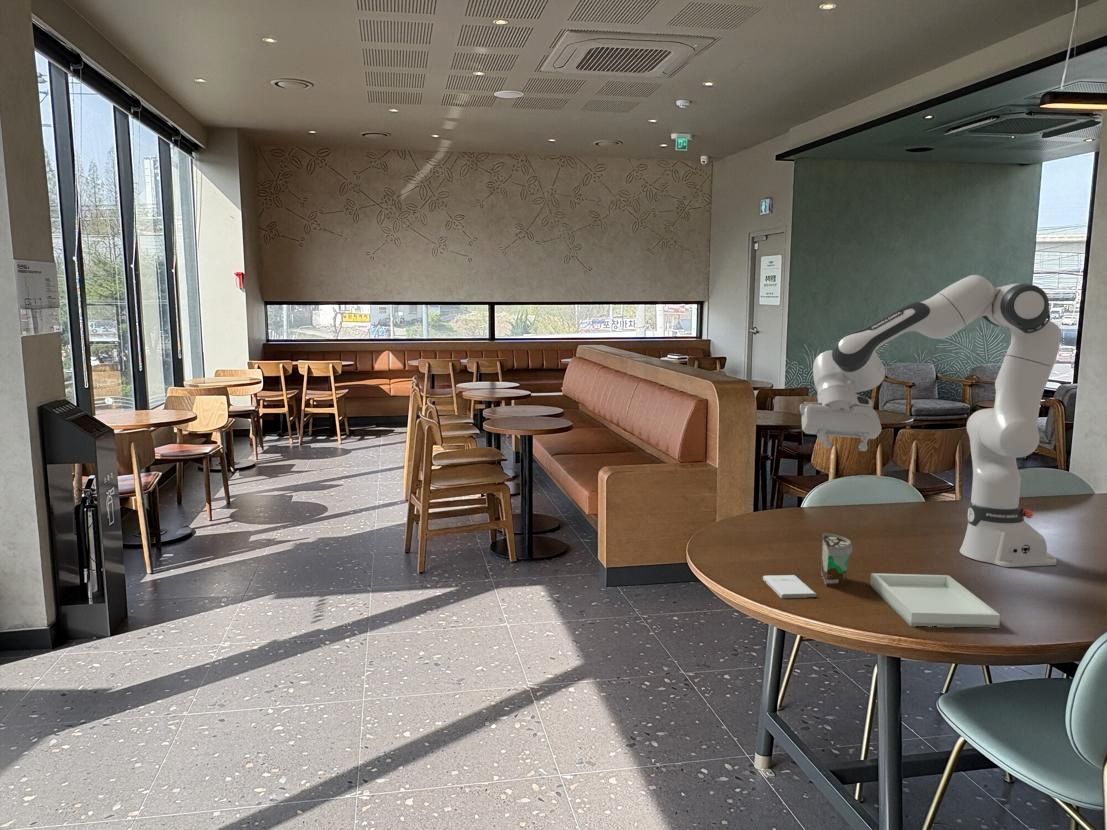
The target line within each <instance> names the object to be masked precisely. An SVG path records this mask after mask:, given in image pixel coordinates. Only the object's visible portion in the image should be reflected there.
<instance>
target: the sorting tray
mask: <svg viewBox="0 0 1107 830" xmlns="http://www.w3.org/2000/svg"><path fill="white" fill-rule="evenodd" d="M870 587H871V588H872V589H873V590H874V591H875V592H876V593H877V594H878V595H879V596H880V597H881V598H882V599H883V600H884V601H885V602H886V603H887V604H888V605H889V606H890V607H891V608H892V609H893V610H894V611H895V612H896V613H897V614H898V615H899V616H900V617H901V618H902V619H903V620H904V621H905V622H906V623H907V624H908V625H909V626H910V627H916V626H926V627H925V628H935V627H934V626H937V627H936V628H953V627H990V628H989V629H991V628H999V629H1000V623H1001V622H1000V620H1001V614H1000V613H998V612H997V611H996V610H995V609H993V608H992V607H991V606H990V605H988V604H987V603H986V602H984V601H982V600H981V599H980V598H979V597H977V596H976V595H975V594H974V593H972V591H970V590H969V589H967V588H966V587H964V586H963V585H962V584H961V583H959V582H958V581H957V580H955V579H954V578H952V576H950V575H948V574H947V575H946V574H917V573H916V574H914V573H913V574H911V573H910V574H909V573H907V574H906V573H905V574H904V573H874V572H872V573H870ZM927 626H928V627H927ZM932 626H933V627H932ZM950 626H951V627H950Z"/></svg>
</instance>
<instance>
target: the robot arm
mask: <svg viewBox="0 0 1107 830" xmlns="http://www.w3.org/2000/svg"><path fill="white" fill-rule="evenodd" d="M1046 293H1047V292H1045V290H1044V289H1042V288H1041V287H1039V286H1038V285H1034V284H1032V283H1010V284H1007V285H1002V286H993V284H992V283H991V282H990V281H989V280H988V279H987V278H985V277H984V276H981V275H978V274H970V275H968V276H966V277H963V278H961V279H959V280H958V281H955V282H954V283H951V284H950V285H949V286H947V287H945V288H944V289H941V290H939V292H937V293H936V294H934V295H933V296H931V297H929V298H928V299H925V300H922V301H920V302H919V301H916V302H911V303H908V304H906V305H904V306H901V307H900V308H898V309H896V310H894V311H893V312H890V313H889V314H887V315H885V316H883V317H881V318H880V319H878V320H876V321H874V322H872V323H870V324H869V325H867V326H865V327H863V328H861V329H858V330H855V331H854V330H853V331H852V332H849V333H847V334H846V333H845V334H844V335H843V336H841V337H840V338H839V339H838V340H837V341H836V343H834V345H833V348H832V349H829V350H825V351H823V352H821V353H819V354H818V355H817V356H816V357H815V359H814V361H813V365H812V376H813V383H814V387H815V389H816V391H817V396H816V398H817V402H816V401H815V402H810V401H804V402H802V403H800V404H799V407H798V408H799V413H800V414H801V429H802V431H803V433H804V434H807V435H816V437H817V439H818V440H819V441H820V443H822V445H823V448H824V449H830V448H832V446H833V445H832V444H833V443H832V439H831V438H830V439H829V438H828V437H827V436H832V437H844V438H859V439H860V443H859V444H858V449H859V451H860V452H866V451H867V450H868V440H875V439H876V438H877V437H879V435H880V434H881V432H882V425H881V420H880V418H879V415H878V413H877V411H876V410H875V409H874V408H873V405H874V402H873V400H871V399H870V398H867V397H865V396H862V395H859V394H858V393H863V392H867V391H868V392H869V391H871V390H873V389H875V388H877V387H879V386H880V385H881V384H883V382H884V380H885V377H886V374H887V373H886V372H887V371H886V368H885V366H884V364H883V362H882V360H881V359H880V357H879V355H878V353H877V350H878V348H879V347H881V346H882V345H884V344H886V343H888V342H889V341H892V340H894V339H895V338H897V337H899V336H901V335H903V334H905V333H908V332H917V333H919V334H921V335H923V336H924V337H925V336H926V337H927V338H930V339H933V340H934V339H935V340H942V339H946V338H949V337H951V336H953V335H955V334H956V333H958V332H959V331H961V330H962V329H964V328H965V327H966V326H968V325H969V324H971V323H972V322H974V321H975V320H977V319H980V318H983V319H984V320H986V321H987V322H988V323H990V324H991V325H994V326H996V327H1001V328H1003V327H1004V328H1008V329H1009V331H1010V335H1011V336H1010V344H1009V347H1008V349H1007V351H1006V354H1005V356H1004V358H1003V361H1002V363H1001V367H1000V369H999V370H998V374H997V376H996V379H995V382H994V389H995V398H994V404H993V405H994V406H993V407H991V408H989V407H988V408H982V409H978V410H976V411H975V412H973V413H972V414H971V415H970V416H969V417H968V419H967V422H966V432H967V434H968V438H969V445H970V455H971V462H972V463H971V464H972V485H971V495H970V496H971V498H970V501H968V508H967V527H966V532H965V536H964V539H963V542H962V544H961V547H960V549H959V553H960V554H961V555H963V556H964V557H967V558H970V559H972V560H975V561H979V562H984V563H989V564H994V565H997V566H1000V567H1004V568H1017V567H1019V568H1020V567H1041V566H1042V567H1043V566H1044V567H1045V566H1056V565H1057V559H1056V558H1055V556H1054V555H1051V554H1050V553H1049V552H1048V546H1047V541H1046V539H1045V537H1044V535H1042V534H1041V533H1040V532H1039V531H1037V530H1036V529H1035V528H1034V527H1032V525H1030V524H1029V523H1028V522H1027V521H1025V518H1027V519H1032V518H1033V517H1034V512H1033V511H1031V510H1029V509H1028V508H1027V509H1025V508H1023V507H1021V506H1019V505H1020V503H1019V502H1020V492H1021V483H1022V479H1021V474H1020V471H1019V469H1018V465H1017V458H1025V457H1026V456H1027V457H1028V456H1029V455H1031V454H1032V453H1034V452H1035V450H1036V449H1037V448H1038V446H1039V444H1040V433H1039V429H1038V428H1039V427H1038V425H1039V424H1038V423H1039V413H1040V408H1041V407H1040V406H1041V403H1042V402H1041V401H1042V397H1043V393H1044V391H1045V388H1046V386H1047V384H1048V381H1049V379H1050V376H1051V373H1052V371H1053V368H1054V365H1055V362H1056V360H1057V356H1058V353H1059V350H1060V349H1059V348H1060V345H1061V340H1062V330H1061V328H1060V327H1059V325H1058V324H1056V323H1055V322H1054V321H1051V314H1050V302H1049V297H1048V295H1047V294H1046Z"/></svg>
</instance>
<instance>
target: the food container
mask: <svg viewBox="0 0 1107 830" xmlns="http://www.w3.org/2000/svg"><path fill="white" fill-rule="evenodd" d="M821 538H822V540H821V542H822V545H821V565H820V567H821V568H820V573H821V574H820V575H821V576H823V577H822V579H824V580H823V583H824V584H826V585H825V586H826V587H838V585H840V586H843V585H845V584H846V579H847V572H848V564H849V557H850V554H852V553H853V545H852V543H851V540H849V539H848V538H846V537H844V536H841V535H838V534H832V533H825V532H823V533H822V537H821ZM842 584H843V585H842Z"/></svg>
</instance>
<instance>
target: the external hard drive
mask: <svg viewBox="0 0 1107 830" xmlns="http://www.w3.org/2000/svg"><path fill="white" fill-rule="evenodd" d="M762 580H763V581H764V582H765V581H766V582H765V583H766V585H768V586H769V588H770V589H772V590H773V592H775V593H776V595H777V596H778V597H780V598H781V599H796V598H797V599H803V598H804V599H805V598H806V599H808V598H807V597H816V598H817V593H816V592H815V591H814V590H812V589H811V588H810V587H809V586H808V585H807V584H806V583H804V582H803V581H802V580H801V579H800V578H799V577H797V576H796V575H795V574H786V575H785V574H784V575H783V574H779V575H777V574H776V575H773V574H771V575H770V574H769V575H762Z"/></svg>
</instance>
